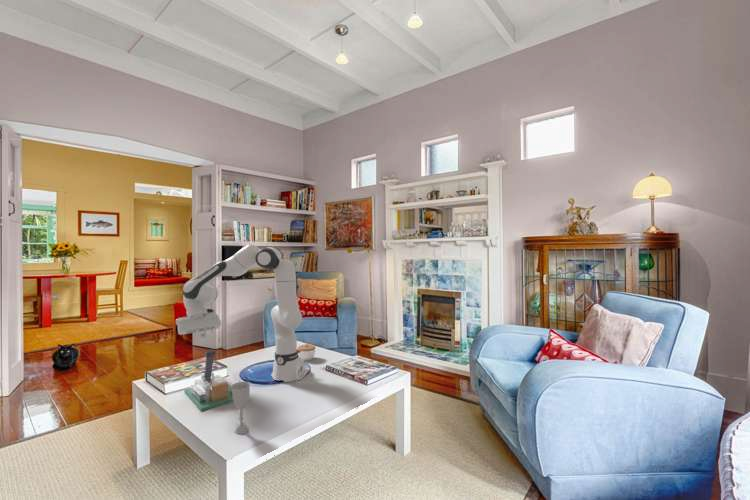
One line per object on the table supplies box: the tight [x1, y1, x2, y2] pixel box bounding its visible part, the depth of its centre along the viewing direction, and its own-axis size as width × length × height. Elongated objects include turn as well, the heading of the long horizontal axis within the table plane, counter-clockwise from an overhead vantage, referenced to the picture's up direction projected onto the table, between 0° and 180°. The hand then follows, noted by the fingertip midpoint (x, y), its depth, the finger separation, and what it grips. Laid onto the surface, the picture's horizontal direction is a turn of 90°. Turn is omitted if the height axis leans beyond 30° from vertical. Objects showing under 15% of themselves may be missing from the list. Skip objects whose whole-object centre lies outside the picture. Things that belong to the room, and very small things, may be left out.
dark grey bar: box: [203, 349, 216, 379], centre depth 173 cm, size 16×4×2 cm
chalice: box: [231, 381, 252, 435], centre depth 138 cm, size 7×7×18 cm
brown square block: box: [210, 381, 228, 403], centre depth 162 cm, size 2×7×7 cm, turn 132°
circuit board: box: [183, 387, 234, 412], centre depth 170 cm, size 26×18×1 cm
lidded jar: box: [297, 343, 316, 362], centre depth 221 cm, size 11×11×9 cm
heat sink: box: [190, 371, 234, 402], centre depth 169 cm, size 16×15×7 cm
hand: (203, 337), depth 179 cm, fingers closed
